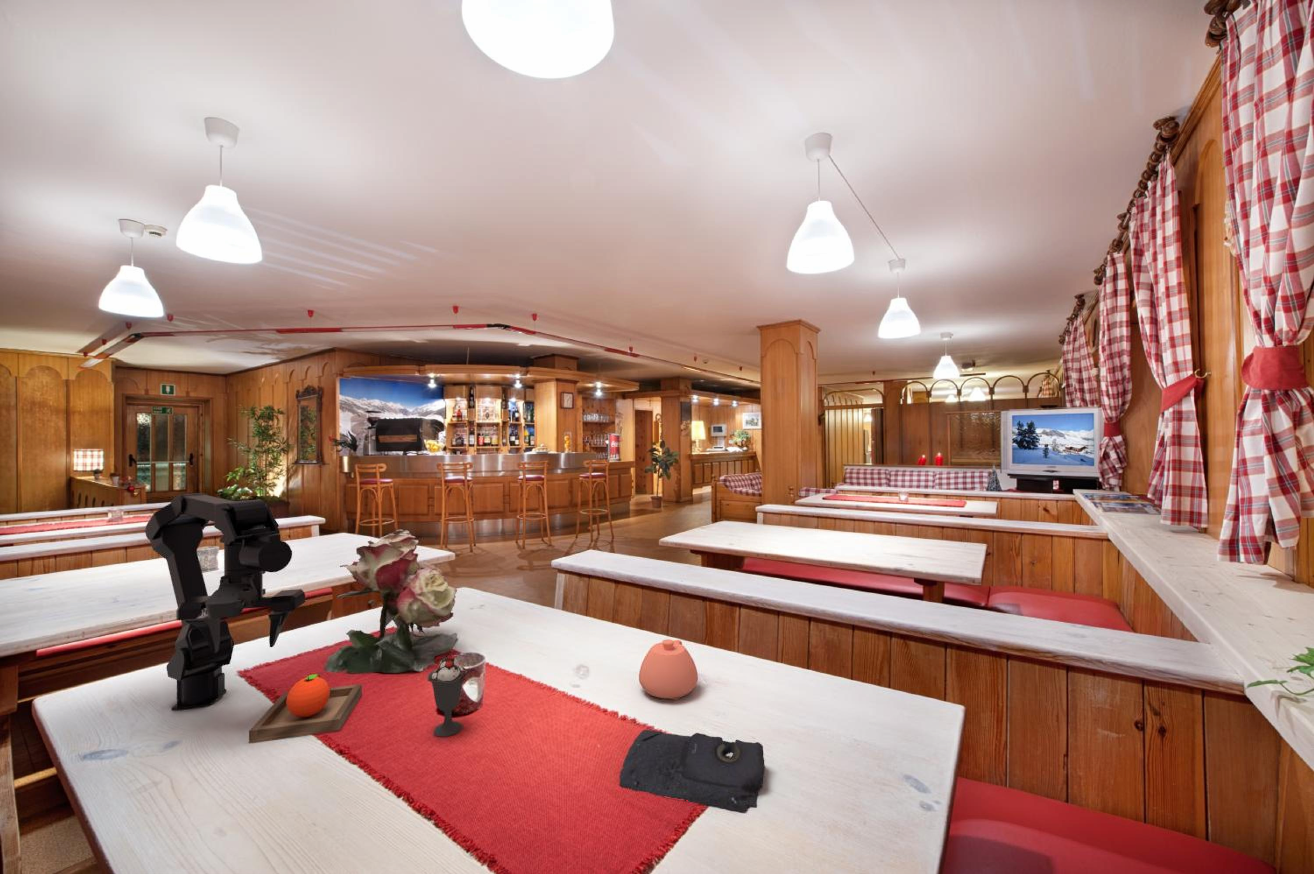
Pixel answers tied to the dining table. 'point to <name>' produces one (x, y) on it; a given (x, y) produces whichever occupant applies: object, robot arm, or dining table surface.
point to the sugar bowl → (668, 670)
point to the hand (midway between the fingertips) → (244, 649)
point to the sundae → (447, 692)
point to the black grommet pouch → (695, 769)
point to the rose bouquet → (397, 609)
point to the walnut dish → (326, 720)
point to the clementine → (308, 696)
